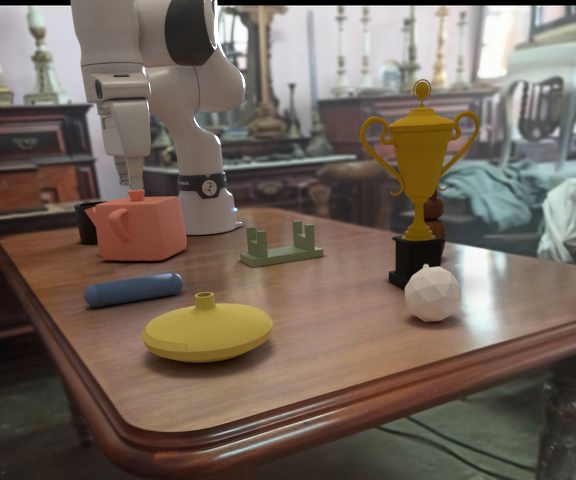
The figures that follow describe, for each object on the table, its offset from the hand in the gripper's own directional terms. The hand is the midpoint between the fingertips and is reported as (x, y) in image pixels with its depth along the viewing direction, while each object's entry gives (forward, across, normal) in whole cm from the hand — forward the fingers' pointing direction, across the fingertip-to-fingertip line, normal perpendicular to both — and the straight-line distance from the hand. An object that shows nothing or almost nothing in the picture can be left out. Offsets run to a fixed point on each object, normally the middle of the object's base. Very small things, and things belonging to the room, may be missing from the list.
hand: (131, 187), depth 90 cm
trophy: (+18, +18, +40) cm, 47 cm away
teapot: (+17, -34, +4) cm, 38 cm away
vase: (+18, +29, +2) cm, 34 cm away
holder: (+17, -12, +29) cm, 36 cm away
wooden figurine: (+18, +6, +51) cm, 54 cm away
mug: (+17, -59, +1) cm, 62 cm away
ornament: (+18, +34, +31) cm, 49 cm away
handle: (+17, +1, -2) cm, 18 cm away
